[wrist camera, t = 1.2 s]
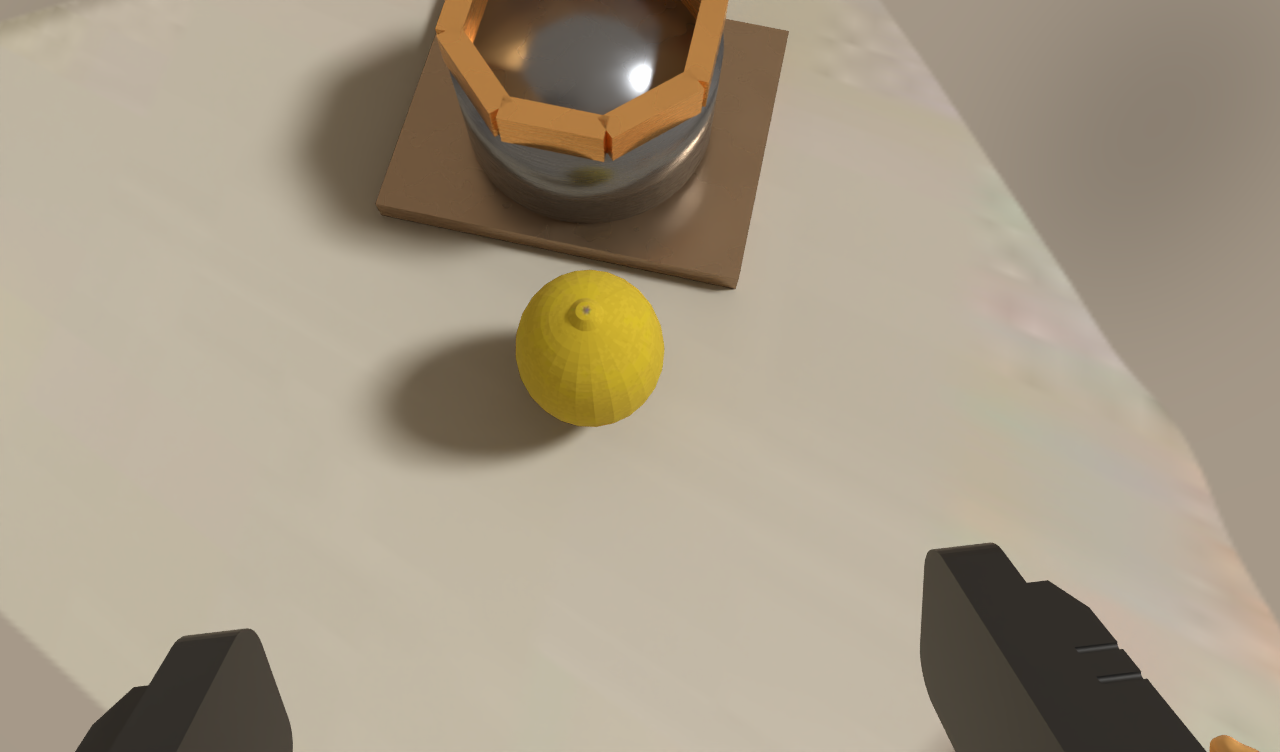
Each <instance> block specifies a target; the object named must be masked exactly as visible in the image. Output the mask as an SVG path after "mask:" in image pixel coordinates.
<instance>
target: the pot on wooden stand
mask: <svg viewBox="0 0 1280 752" xmlns="http://www.w3.org/2000/svg"><path fill="white" fill-rule="evenodd" d="M727 7H728V0H445V3H444V5H443V8H442V11H441V14H440V17H439V19H438V22H437V25H436V28H435V30H436V34H435V37H434V40H433V43H432V46H431V48H430V51H429V54H428V57H427V60H426V63H425V65H424V68H423V71H422V74H421V77H420V79H419V82H418V85H417V88H416V91H415V94H414V96H413V99H412V102H411V105H410V108H409V110H408V113H407V116H406V119H405V122H404V124H403V127H402V130H401V133H400V136H399V139H398V141H397V144H396V147H395V150H394V153H393V155H392V158H391V161H390V164H389V167H388V170H387V172H386V175H385V178H384V181H383V184H382V186H381V189H380V192H379V195H378V198H377V200H376V203H375V204H376V206H377V208H378V209H379V211H380V213H381V215H384V216H389V217H394V218H399V219H404V220H408V221H413V222H418V223H423V224H427V225H432V226H437V227H442V228H447V229H451V230H456V231H461V232H466V233H471V234H475V235H480V236H485V237H490V238H495V239H499V240H504V241H509V242H514V243H519V244H523V245H528V246H533V247H538V248H542V249H547V250H552V251H557V252H562V253H566V254H571V255H576V256H581V257H586V258H590V259H595V260H600V261H605V262H610V263H614V264H619V265H624V266H629V267H633V268H638V269H643V270H648V271H653V272H657V273H662V274H667V275H672V276H677V277H681V278H686V279H691V280H696V281H701V282H705V283H710V284H715V285H720V286H724V287H729V288H734V289H736V286H737V282H738V279H739V274H740V269H741V264H742V259H743V254H744V249H745V244H746V240H747V235H748V230H749V225H750V220H751V215H752V210H753V205H754V200H755V195H756V190H757V185H758V181H759V176H760V171H761V166H762V161H763V156H764V151H765V146H766V141H767V136H768V131H769V126H770V121H771V117H772V112H773V107H774V102H775V97H776V92H777V87H778V82H779V77H780V72H781V67H782V62H783V58H784V53H785V48H786V43H787V38H788V33H789V31H785V30H780V29H775V28H770V27H765V26H759V25H754V24H749V23H744V22H739V21H733V20H728V19H726V13H727Z"/></svg>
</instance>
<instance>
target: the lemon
mask: <svg viewBox="0 0 1280 752" xmlns="http://www.w3.org/2000/svg"><path fill="white" fill-rule="evenodd" d="M663 357H664V342H663V336H662V330H661V325H660V323H659V321H658V319H657V317H656V314H655V312H654V310H653V308H652V306H651V304H650V303H649V302H648V301H647V299H646V298H645V297H644V296H643V295H642V293H641V292H640V291H639V290H638V289H637V288H635V287H634V286H633V285H631V284H630V283H629V282H627V281H626V280H624V279H622V278H620V277H618V276H615V275H613V274H610V273H608V272H602V271H596V270H583V271H574V272H571V273H567V274H564V275H561V276H559V277H557V278H556V279H554V280H552V281H551V282H549V283H547V284H546V285H544V286H543V287H542V288H541V289H540V290H539V291H538V292H537V293H536V294H535V295H534V296H533V297H532V299H531V301H530V302H529V304H528V305H527V307H526V309H525V310H524V312H523V314H522V316H521V320H520V323H519V327H518V330H517V334H516V361H517V365H518V369H519V373H520V377H521V380H522V382H523V383H524V385H525V387H526V389H527V390H528V392H529V394H530V396H531V397H532V398H533V399H534V400H535V401H536V402H537V403H538V404H539V405H540V406H541V407H542V408H543V409H544V410H545V411H546V412H547V413H549V414H551V415H552V416H554V417H556V418H558V419H559V420H561V421H563V422H567V423H570V424H573V425H577V426H590V427H598V426H602V425H607V424H612V423H615V422H617V421H619V420H621V419H624V418H626V417H628V416H630V415H631V414H632V413H633V412H634V411H636V410H637V409H638V408H639V407H640V406H642V405H643V404H644V403H645V401H646V400H647V398H648V397H649V396H650V394H651V393H652V391H653V390H654V389H655V387H656V384H657V382H658V379H659V376H660V374H661V371H662V367H663Z"/></svg>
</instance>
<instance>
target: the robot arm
mask: <svg viewBox="0 0 1280 752" xmlns="http://www.w3.org/2000/svg"><path fill="white" fill-rule="evenodd" d="M920 658H921V666H922V672H923V677H924V681H925V685H926V688H927V691H928V694H929V697H930V700H931V702H932V704H933V706H934V709H935V711H936V713H937V715H938V717H939V719H940V721H941V723H942V725H943V727H944V729H945V731H946V733H947V735H948V737H949V739H950V741H951V743H952V745H953V747H954V749H955V751H956V752H1206V751H1205V749H1204V748H1203V747H1202V746H1201V744H1200V743H1199V742H1198V741H1197V739H1196V738H1195V737H1194V736H1193V735H1192V733H1191V732H1190V731H1189V730H1188V728H1187V727H1186V726H1185V725H1184V723H1183V722H1182V721H1181V720H1180V719H1179V717H1178V716H1177V715H1176V714H1175V712H1174V711H1173V710H1172V709H1171V707H1170V706H1169V705H1168V704H1167V703H1166V701H1165V700H1164V699H1163V698H1162V696H1161V695H1160V694H1159V693H1158V691H1157V690H1156V689H1155V688H1154V687H1153V685H1152V684H1151V683H1150V682H1149V680H1148V679H1143V678H1142V676H1141V671H1140V669H1139V668H1138V667H1137V666H1136V664H1135V663H1134V662H1133V661H1132V659H1131V658H1130V657H1129V656H1128V655H1127V653H1126V652H1125V651H1124V650H1123V649H1119V648H1118V645H1117V641H1116V640H1115V639H1114V637H1113V636H1112V635H1111V634H1110V632H1109V631H1108V630H1107V629H1106V628H1105V626H1104V625H1103V624H1102V623H1101V621H1100V620H1099V619H1098V618H1097V616H1096V615H1095V614H1094V613H1093V612H1092V610H1091V609H1090V608H1089V607H1088V606H1086V605H1085V604H1083V603H1082V602H1080V601H1078V600H1077V599H1075V598H1074V597H1072V596H1071V595H1069V594H1068V593H1066V592H1065V591H1063V590H1062V589H1060V588H1059V587H1057V586H1056V585H1054V584H1053V583H1051V582H1050V581H1048V580H1047V581H1039V582H1031V583H1026V581H1025V580H1024V579H1023V577H1022V576H1021V575H1020V573H1019V572H1018V571H1017V569H1016V568H1015V567H1014V565H1013V564H1012V563H1011V561H1010V560H1009V558H1008V557H1007V556H1006V554H1005V553H1004V552H1003V551H1002V549H1001V548H1000V547H999V546H998V545H996V544H994V543H983V544H975V545H966V546H958V547H949V548H941V549H932V550H930V551H929V552H928V553H927V555H926V559H925V566H924V583H923V601H922V620H921V638H920ZM75 752H293V741H292V731H291V726H290V722H289V719H288V716H287V713H286V710H285V707H284V705H283V702H282V699H281V696H280V693H279V691H278V688H277V685H276V682H275V679H274V677H273V674H272V671H271V668H270V665H269V663H268V660H267V657H266V654H265V651H264V649H263V646H262V643H261V641H260V638H259V637H258V635H257V634H256V633H255V632H254V631H253V630H251V629H239V630H230V631H222V632H213V633H205V634H196V635H188V636H183V637H181V638H180V639H178V640H177V641H176V642H175V644H174V645H173V646H172V648H171V649H170V651H169V653H168V654H167V656H166V658H165V659H164V661H163V663H162V664H161V666H160V668H159V669H158V671H157V673H156V674H155V676H154V678H153V679H152V681H151V683H150V684H149V685H148V686H140V687H134V688H132V689H131V690H130V691H129V692H128V693H127V694H126V695H125V696H124V697H123V698H122V699H120V700H119V701H118V702H117V703H116V704H115V705H114V706H113V707H112V708H111V709H109V710H108V711H107V712H106V713H105V714H104V715H103V716H102V717H101V718H100V719H99V720H97V721H96V722H95V723H94V724H93V725H92V727H91V728H90V730H89V731H88V733H87V734H86V736H85V737H84V739H83V741H82V742H81V744H80V745H79V747H78V748H77V750H76V751H75Z"/></svg>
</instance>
